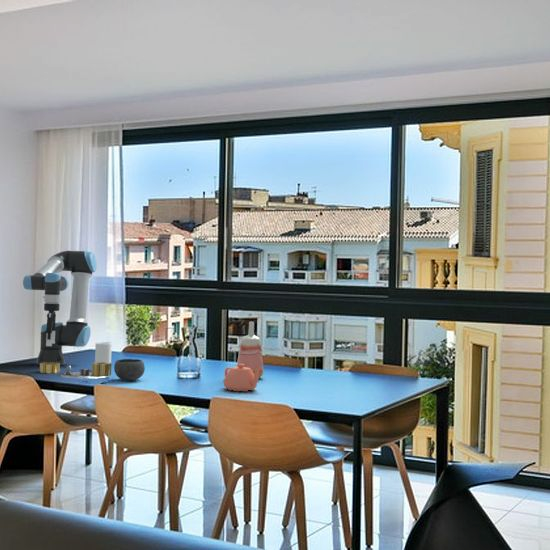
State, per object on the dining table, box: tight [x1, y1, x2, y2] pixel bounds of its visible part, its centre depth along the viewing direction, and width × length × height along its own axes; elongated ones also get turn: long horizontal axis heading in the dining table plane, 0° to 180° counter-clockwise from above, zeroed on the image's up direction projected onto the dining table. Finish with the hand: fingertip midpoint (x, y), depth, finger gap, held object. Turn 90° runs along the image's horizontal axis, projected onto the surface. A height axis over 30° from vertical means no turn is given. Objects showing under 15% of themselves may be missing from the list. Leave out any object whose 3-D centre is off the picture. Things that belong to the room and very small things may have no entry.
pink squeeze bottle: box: [236, 321, 264, 378], centre depth 412 cm, size 14×14×30 cm
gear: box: [39, 362, 61, 375], centre depth 399 cm, size 10×10×6 cm
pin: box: [65, 365, 72, 375], centre depth 392 cm, size 2×2×4 cm
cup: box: [94, 341, 112, 364], centre depth 411 cm, size 8×8×16 cm
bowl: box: [113, 358, 146, 382], centre depth 391 cm, size 15×15×10 cm
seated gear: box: [90, 361, 112, 378], centre depth 395 cm, size 10×10×6 cm
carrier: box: [59, 367, 110, 383], centre depth 393 cm, size 24×24×6 cm
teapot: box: [222, 364, 262, 392], centre depth 372 cm, size 22×16×12 cm
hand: (50, 344), depth 399 cm, fingers open, 13 cm apart
